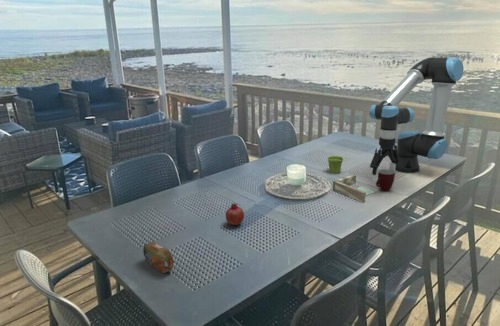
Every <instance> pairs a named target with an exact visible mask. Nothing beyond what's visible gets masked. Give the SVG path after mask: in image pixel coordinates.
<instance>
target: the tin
mask: <svg viewBox="0 0 500 326" xmlns="http://www.w3.org/2000/svg"><path fill="white" fill-rule="evenodd" d="M142 249H143V251H142V252H143V256H144V258H145V261H146V262H147V264H149V265H150V266H151V267H153V268H154V269H156V270H157V271H159V272H161V273H162V274H166V273H168V272H169V271H172V269H174V257H173V255H172V253H171V252H170V250H169V249H167V248H166V247H164V246H163V245H160V244H159V243H157V242H154V241H151V242H148V243H145V244H144V245H143V248H142Z"/></svg>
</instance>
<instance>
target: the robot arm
mask: <svg viewBox="0 0 500 326" xmlns="http://www.w3.org/2000/svg"><path fill="white" fill-rule="evenodd" d="M463 75H464V63H463V61H462V60H461V59H460V58H458V57H452V56H449V57H448V56H446V57H445V56H444V57H441V56H440V57H438V56H437V57H436V56H431V57H426V58H424V59H422V60H421V61H419V62H417V63H416V64H414V65H413V66H412V67H411V68H409V70H408V71H407V73H406V76H405V77H404V78H402V80H400V82H399V83H397V85H396V86H395V87H394V88H393V89H392V90H391V91H390V92H389V93H388V95H386V96H385V98H383V100H382V101H380V103H378V104H372V105H371V106H370V108H369V110H368V115H369V117H370V118H371V119H374V120H378V121H380V130H379V139H378V145H379V146H380V147H379V148H375V152H374V154H373V157H372V159H371V162H370V164H369V169H370V168H371V169H372V173H371V175H372V177H371V180H372V181H374V182H375V183H376V182H377V180H378V171H379V170H380V169H379V167H380V165H381V163H382V161H383V160H384V158H386V157H388V158H389V160H390V163H389V164H390V165H389V170H392V171H394V172H395V173H396V172H400V173H408V174H409V173H410V174H412V173H418V172H419V171H420V163H419V157H418V156H420V157H424V158H427V159H432V160H438V159H441V158H442V157H443V156H444V155H445V153H446V151H447V149H448V144H449V143H448V141H447V139H446V138H445V136H446V135H445V134H444V127H445V121H446V117H447V112H448V107H449V102H450V97H451V92H452V88H453V87H454V86H455V85H456V84H457V82H458V81H460V80H461V79H462V77H463ZM426 80H431V85H433V88H432V89H433V90H432V93H431V94H432V95H431V99H430V103H429V109H428V113H427V120H426V125H425V129H424V130H423V131H422V132H421V131H420V130H404V131H400V132H399V133H398V134H397V128H398V125H403V124H408V123H410V122H412V121H413V120H414V118H415V111H414V110H413V109H412V108H411V107H398V106H399V104H401V103H402V101H404V99H406V98H407V96H408V95H409V94H410V93H411V92H412V91H413V90H414V89H415V87H417V86H418V84H422V83H423V82H424V81H426ZM456 86H457V85H456ZM397 135H398V136H397ZM396 137H397V144H396Z"/></svg>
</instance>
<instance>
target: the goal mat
mask: <svg viewBox="0 0 500 326" xmlns="http://www.w3.org/2000/svg"><path fill="white" fill-rule="evenodd" d="M355 188H356V189H359V190H361V191H364V192H366V196H369V195H372V194H374V193H376V191H374V190H372V189H369V188H367V187H364V186H358V187H355ZM366 196H365V197H366Z"/></svg>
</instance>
